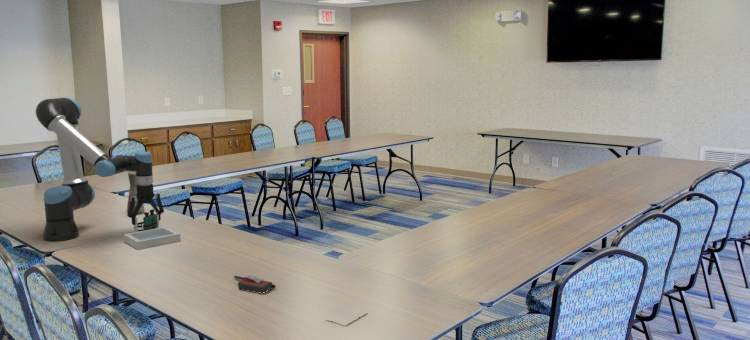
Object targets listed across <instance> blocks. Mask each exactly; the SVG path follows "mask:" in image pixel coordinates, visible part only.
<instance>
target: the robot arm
mask: <svg viewBox="0 0 750 340" xmlns="http://www.w3.org/2000/svg"><path fill="white" fill-rule="evenodd" d="M81 116H82V109H81V106H80V104H79V103H78V102H77V101H76V100H75V99H73V98H70V97H58V98H57V97H56V98H45V99H44V100H43V99H42V100H41V101H40V102H39V103H38V104H37V106H36V107H35V117H36V118H37V120H38V122H39V123H40V124H41V125H42V127H44V128H45V129H46V130H47V131H48V132H53V134H56V138H57V145H58V150H59V156H60V163H61V168H62V173H63V174H62V175H63V181H62V182H61V185H58V186H53V187H50V188H48V189H46V190H45V191H44V193H43V202H44V211H45V212H44V214H45V225H44V230H43V233H42V239H43V241H47V242H61V241H67V240H73V239H75V238H78V237H79V236H80V229H79V228H78V225H77V223H76V221H75V219H74V218H75V215H74V211H77V210H79V209H84V208H85V207H88V205H89V206H90V205H91V203H92V202H93V201H94V199H95V195H96V194H95V189H94V186H92V185H91V184H90V183H89V180H88V178H86V177H85V176H84V170H83V165H82V159H81V156H82V157H83V159H85V160H86V161H87V162H89V163H90V164H91V165H92V166H93V167H94V170H95V172H96V175H98V176H99V177H102V178H107V177H108V178H109V177H111V176H113V175H114V176H115V175H116V174H117V175H118V174H120V173H123V172H129V171H133V172H136V184H137V185H136V188H137V195H136V196H134V197H132V196H131V197H130V206H129V210H128V213H127V217H128V218H129V219H131V224H132V225H133V231H135V232H138V230H139V228H138V226H139V225H138V224H137V223H138V217H137V215H138V214H137V213H138V211H139V209H140V207H141V206H142V204H143V205H145V204H149V205H151V207H152V210H154V214H155V215H156V221H157V226H156V228H160V221H161V219H162V218H161V215H162V214H163V213H165V209H164V207H163V204H162V203H163V202H162V200H161V194H160V193H158V192H156V193H154V184H153V183H154V177H153V176H154V175H153V157H152V156H153V155H152V153H151V152H150V151H137V152H135V153H134V155H125V154H124V155H123V154H119V155H118V154H115V155H112V156H111V157H110V156H109V155H108V154H106V153H105V152H104V151H103V150H102V149H101V148H100V147H99V146H97V145H96V144H95V143H94V142H92V141H91V140H90V139H89V138H88V137H86V135H84V134H83V133H82V132H81V131H79V129H77V127H78V126H79V119H80V117H81ZM154 198H155V200H156V203H157V205H156V203H155V201H154V200H153V199H154ZM136 199H138V202H137V205H136V207H135V209H134V204H135V201H136ZM133 209H134V211H133Z"/></svg>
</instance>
